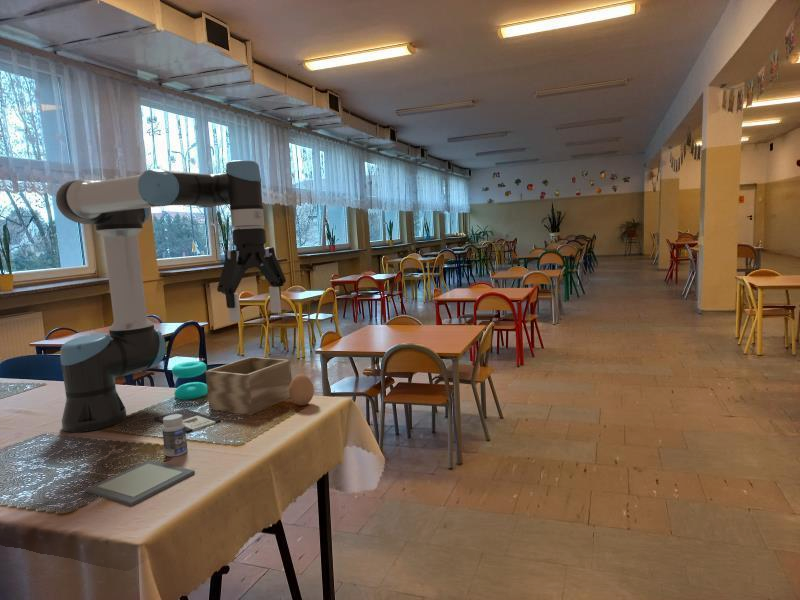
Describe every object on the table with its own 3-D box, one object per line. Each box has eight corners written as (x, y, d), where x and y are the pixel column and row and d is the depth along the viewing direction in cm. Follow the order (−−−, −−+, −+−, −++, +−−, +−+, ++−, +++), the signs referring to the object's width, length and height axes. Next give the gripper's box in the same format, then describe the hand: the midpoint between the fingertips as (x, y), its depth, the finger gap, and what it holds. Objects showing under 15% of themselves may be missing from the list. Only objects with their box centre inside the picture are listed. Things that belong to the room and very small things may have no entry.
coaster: (85, 491, 103) (85, 488, 103) (149, 462, 115) (149, 459, 115) (131, 505, 96) (131, 502, 96) (194, 473, 108) (194, 470, 108)
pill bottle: (179, 457, 117) (175, 420, 116) (160, 456, 118) (156, 420, 117) (192, 448, 121) (188, 413, 120) (173, 448, 122) (169, 413, 121)
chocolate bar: (185, 408, 150) (220, 420, 139) (186, 411, 150) (220, 423, 139) (154, 417, 144) (187, 430, 132) (154, 421, 144) (187, 434, 132)
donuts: (164, 368, 160) (184, 360, 169) (167, 400, 161) (188, 390, 171) (193, 368, 157) (212, 360, 167) (197, 401, 159) (215, 391, 168)
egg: (303, 410, 144) (300, 378, 143) (285, 407, 148) (282, 376, 147) (319, 403, 150) (317, 372, 149) (301, 400, 153) (299, 370, 152)
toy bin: (209, 409, 150) (205, 371, 149) (254, 391, 165) (250, 356, 164) (250, 415, 142) (246, 375, 141) (293, 396, 158) (290, 359, 156)
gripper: (218, 228, 113) (228, 326, 116) (295, 226, 135) (302, 309, 137) (194, 230, 117) (204, 325, 119) (273, 228, 138) (280, 308, 141)
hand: (256, 317), depth 128 cm, fingers open, 13 cm apart
